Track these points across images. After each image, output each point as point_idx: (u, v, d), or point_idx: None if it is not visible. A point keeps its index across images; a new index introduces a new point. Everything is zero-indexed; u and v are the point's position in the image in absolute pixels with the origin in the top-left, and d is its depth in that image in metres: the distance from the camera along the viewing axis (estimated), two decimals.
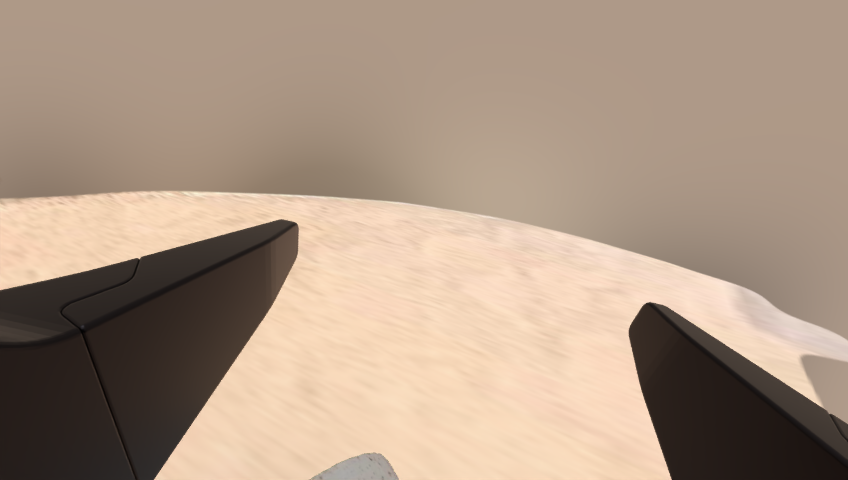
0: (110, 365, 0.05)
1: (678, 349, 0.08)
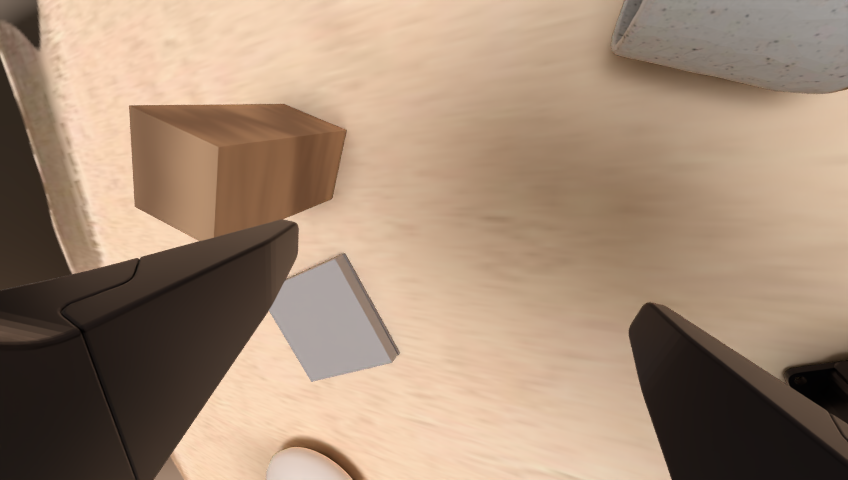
0: (111, 364, 0.05)
1: (678, 349, 0.08)
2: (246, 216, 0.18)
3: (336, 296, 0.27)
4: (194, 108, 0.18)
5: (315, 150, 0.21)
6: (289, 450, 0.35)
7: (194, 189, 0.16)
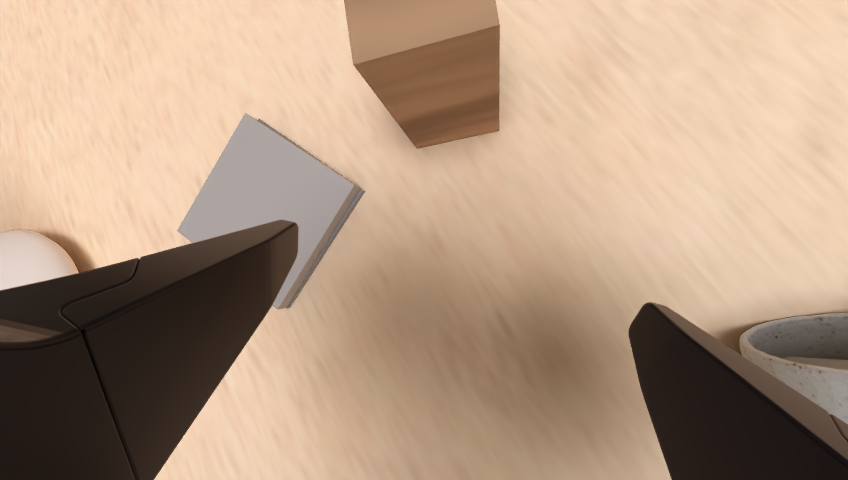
0: (111, 364, 0.05)
1: (678, 349, 0.08)
2: (398, 82, 0.14)
3: (310, 208, 0.22)
4: None
5: (479, 114, 0.18)
6: (56, 247, 0.25)
7: (420, 11, 0.12)
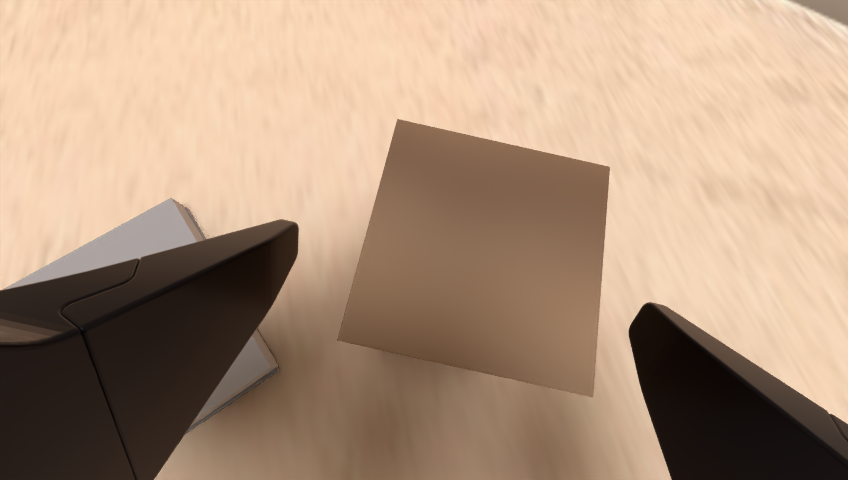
0: (110, 365, 0.05)
1: (678, 349, 0.08)
2: None
3: None
4: None
5: None
6: None
7: (479, 308, 0.07)
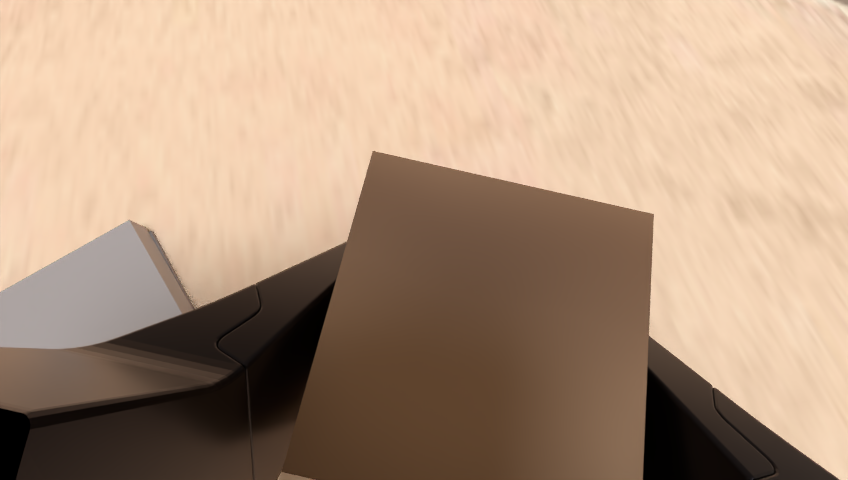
0: (257, 397, 0.05)
1: None
2: None
3: None
4: None
5: None
6: None
7: (479, 419, 0.05)
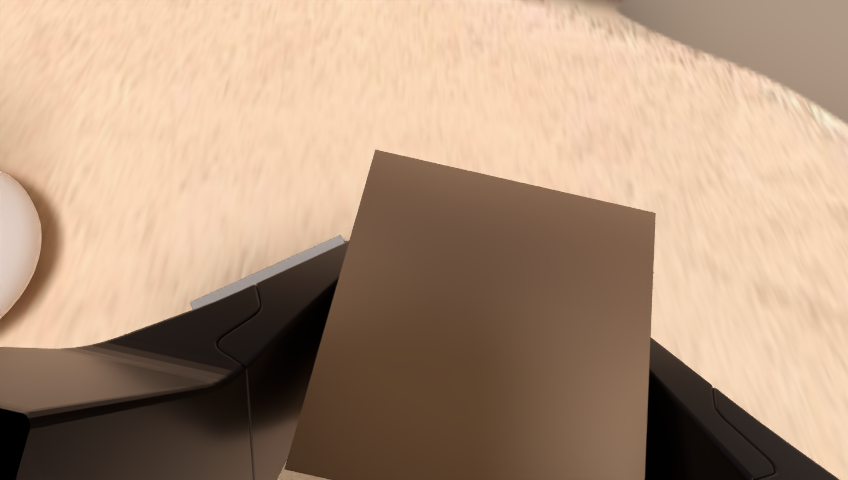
0: (257, 397, 0.05)
1: None
2: None
3: None
4: None
5: None
6: (35, 224, 0.20)
7: (482, 416, 0.05)
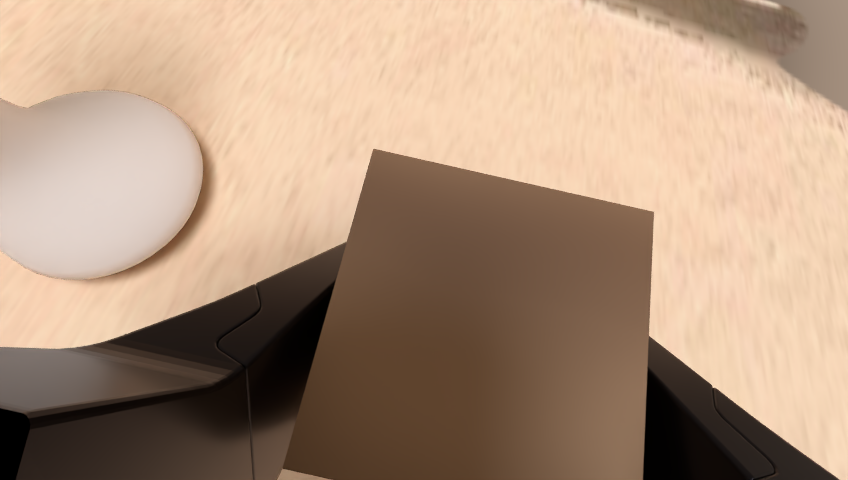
0: (257, 398, 0.05)
1: None
2: None
3: None
4: None
5: None
6: (201, 170, 0.21)
7: (481, 416, 0.05)
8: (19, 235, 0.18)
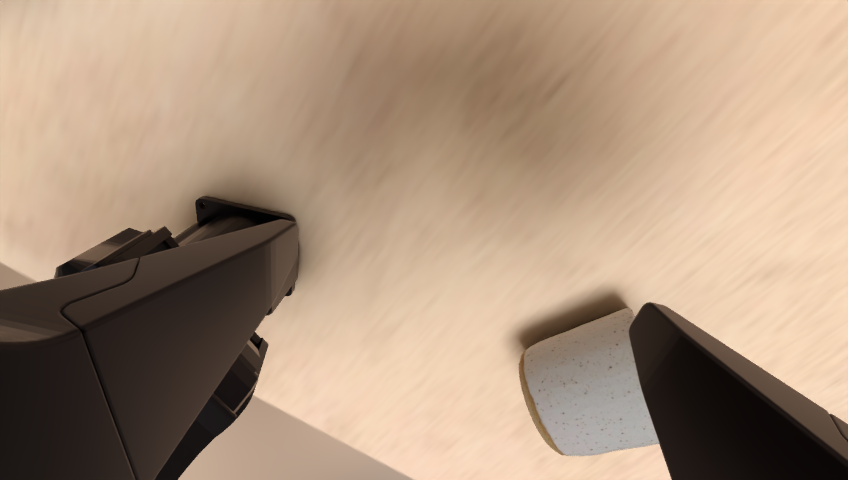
0: (111, 364, 0.05)
1: (678, 349, 0.08)
2: None
3: None
4: None
5: None
6: None
7: None
8: None
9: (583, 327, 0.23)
